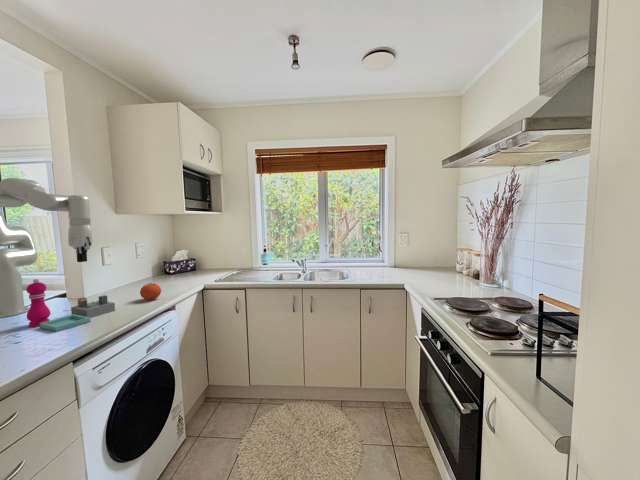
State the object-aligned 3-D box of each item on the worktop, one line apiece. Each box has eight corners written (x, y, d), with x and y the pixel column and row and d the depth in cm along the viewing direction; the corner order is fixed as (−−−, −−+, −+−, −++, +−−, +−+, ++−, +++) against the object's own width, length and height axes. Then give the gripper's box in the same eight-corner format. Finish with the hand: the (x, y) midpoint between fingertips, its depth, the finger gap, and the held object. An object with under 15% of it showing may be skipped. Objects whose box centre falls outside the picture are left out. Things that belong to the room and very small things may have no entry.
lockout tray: (40, 328, 116) (39, 323, 116) (74, 318, 127) (73, 314, 127) (56, 332, 112) (56, 327, 112) (90, 322, 123) (90, 317, 123)
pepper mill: (49, 320, 125) (46, 276, 124) (52, 324, 120) (48, 278, 119) (26, 325, 120) (22, 279, 118) (28, 329, 115) (24, 281, 113)
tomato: (151, 302, 151) (150, 284, 150) (135, 301, 153) (134, 283, 152) (165, 297, 161) (165, 280, 160) (150, 296, 163) (149, 279, 162)
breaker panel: (71, 315, 131) (71, 306, 131) (99, 307, 143) (99, 299, 142) (87, 318, 127) (86, 309, 127) (114, 310, 138) (114, 302, 138)
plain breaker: (99, 303, 136) (98, 296, 135) (104, 302, 138) (103, 295, 138) (102, 304, 135) (101, 297, 134) (107, 302, 137) (107, 295, 137)
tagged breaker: (78, 306, 132) (77, 298, 132) (84, 304, 134) (83, 297, 134) (81, 306, 131) (80, 299, 131) (87, 305, 133) (87, 297, 133)
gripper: (60, 222, 128) (63, 261, 129) (80, 222, 122) (82, 264, 124) (79, 222, 135) (81, 259, 136) (99, 222, 129) (101, 261, 131)
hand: (82, 261), depth 130 cm, fingers closed
